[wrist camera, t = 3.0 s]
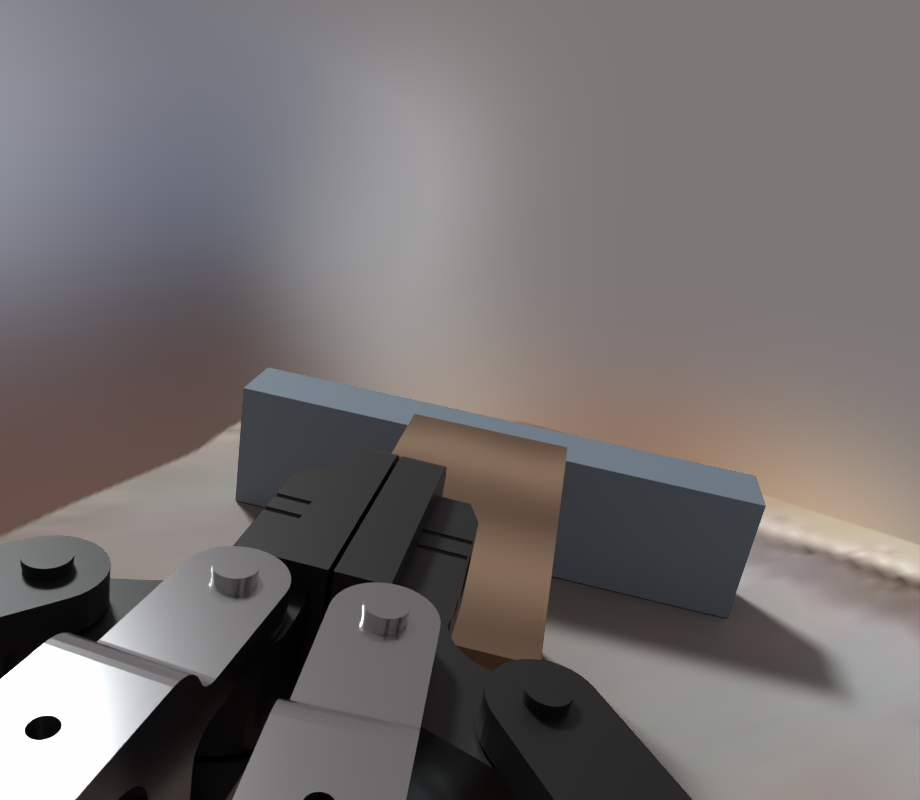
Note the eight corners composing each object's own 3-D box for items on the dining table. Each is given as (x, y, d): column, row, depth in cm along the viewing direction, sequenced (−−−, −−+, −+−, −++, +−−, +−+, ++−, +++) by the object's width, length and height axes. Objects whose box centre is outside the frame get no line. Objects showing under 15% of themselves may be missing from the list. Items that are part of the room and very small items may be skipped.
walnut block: (477, 920, 24) (540, 666, 21) (272, 864, 25) (302, 607, 21) (522, 638, 36) (567, 447, 33) (384, 604, 37) (414, 413, 33)
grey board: (727, 618, 40) (765, 506, 37) (235, 500, 42) (243, 388, 40) (720, 582, 42) (755, 476, 40) (259, 473, 45) (268, 367, 43)
